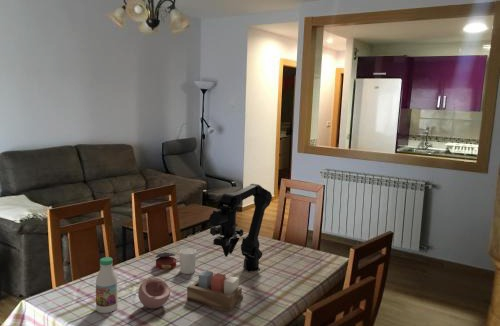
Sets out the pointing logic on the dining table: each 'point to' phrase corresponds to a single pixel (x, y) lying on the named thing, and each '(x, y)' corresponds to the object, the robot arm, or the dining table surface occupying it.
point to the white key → (230, 285)
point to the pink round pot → (153, 293)
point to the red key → (217, 282)
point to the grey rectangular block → (205, 279)
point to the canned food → (165, 261)
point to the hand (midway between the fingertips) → (228, 255)
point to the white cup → (187, 260)
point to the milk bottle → (106, 287)
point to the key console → (213, 297)
